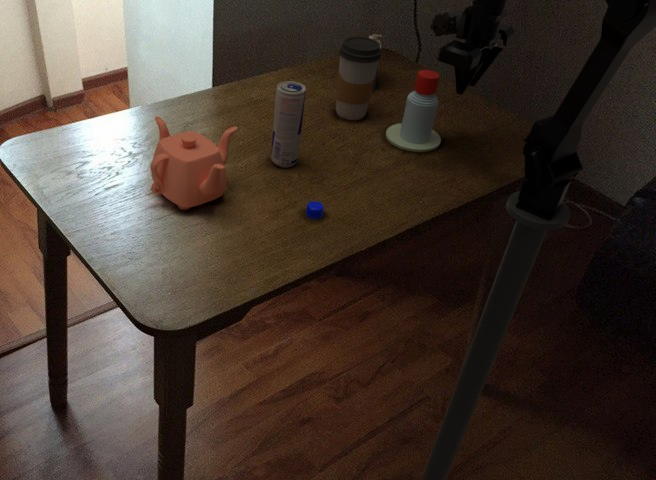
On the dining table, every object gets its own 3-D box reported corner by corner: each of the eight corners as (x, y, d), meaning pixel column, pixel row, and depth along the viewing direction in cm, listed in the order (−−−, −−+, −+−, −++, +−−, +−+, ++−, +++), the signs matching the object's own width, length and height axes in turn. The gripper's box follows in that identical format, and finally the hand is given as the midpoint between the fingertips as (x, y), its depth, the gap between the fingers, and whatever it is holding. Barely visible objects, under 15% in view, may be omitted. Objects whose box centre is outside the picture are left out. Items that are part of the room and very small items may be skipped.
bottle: (433, 143, 140) (449, 83, 131) (405, 144, 139) (418, 83, 130) (423, 128, 144) (437, 69, 136) (395, 129, 143) (408, 70, 135)
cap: (438, 95, 134) (442, 78, 132) (418, 95, 133) (422, 78, 131) (431, 86, 137) (435, 69, 135) (411, 86, 136) (415, 69, 134)
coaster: (449, 138, 143) (450, 135, 142) (423, 158, 136) (424, 155, 136) (402, 120, 148) (403, 117, 147) (375, 138, 141) (375, 135, 140)
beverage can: (300, 158, 133) (309, 83, 123) (293, 171, 129) (301, 94, 119) (275, 153, 134) (281, 77, 124) (266, 165, 130) (272, 88, 120)
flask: (361, 72, 165) (369, 26, 158) (373, 73, 165) (382, 27, 158) (364, 89, 158) (372, 42, 151) (377, 90, 158) (385, 43, 151)
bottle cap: (313, 220, 118) (314, 212, 117) (301, 212, 120) (303, 203, 118) (326, 215, 119) (328, 207, 118) (315, 207, 121) (316, 198, 120)
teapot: (157, 168, 127) (155, 112, 120) (235, 177, 127) (238, 121, 119) (137, 212, 116) (133, 153, 109) (222, 223, 116) (224, 164, 108)
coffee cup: (372, 124, 145) (385, 53, 136) (332, 121, 145) (342, 50, 135) (368, 106, 152) (380, 36, 142) (329, 103, 151) (339, 34, 142)
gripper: (469, -21, 129) (449, 62, 139) (420, 2, 117) (402, 91, 128) (527, -5, 124) (501, 80, 134) (481, 21, 112) (457, 111, 123)
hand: (465, 89), depth 130 cm, fingers open, 5 cm apart
